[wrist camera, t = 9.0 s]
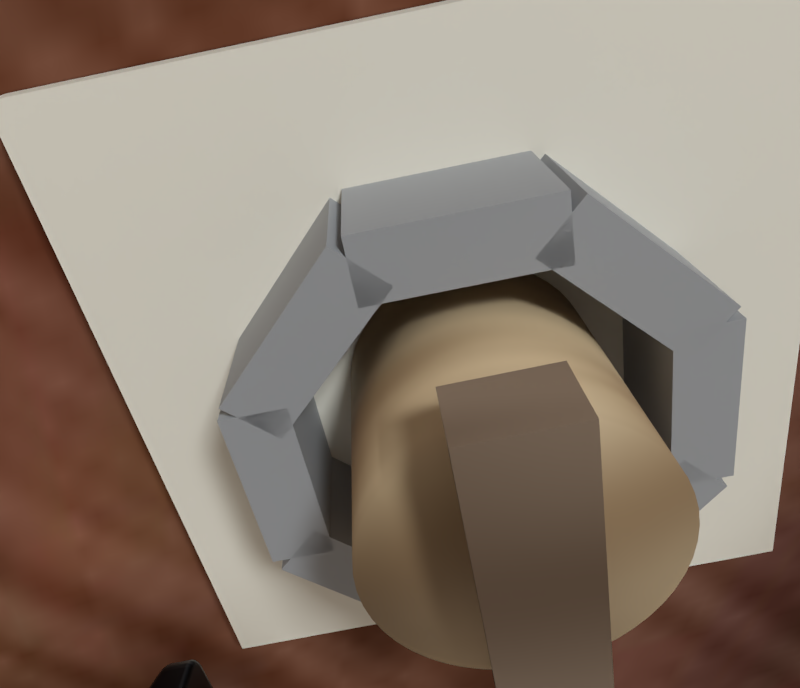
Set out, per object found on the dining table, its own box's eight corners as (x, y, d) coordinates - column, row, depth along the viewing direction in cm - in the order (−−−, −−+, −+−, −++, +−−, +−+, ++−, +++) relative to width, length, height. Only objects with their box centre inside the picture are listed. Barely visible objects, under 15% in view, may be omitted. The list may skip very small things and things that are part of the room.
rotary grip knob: (596, 468, 15) (729, 736, 10) (384, 509, 16) (403, 794, 10) (580, 203, 12) (761, 386, 7) (315, 259, 13) (290, 479, 7)
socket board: (822, -80, 11) (982, -95, 8) (756, 528, 18) (830, 630, 15) (5, 93, 11) (-104, 134, 9) (246, 622, 18) (228, 739, 16)
